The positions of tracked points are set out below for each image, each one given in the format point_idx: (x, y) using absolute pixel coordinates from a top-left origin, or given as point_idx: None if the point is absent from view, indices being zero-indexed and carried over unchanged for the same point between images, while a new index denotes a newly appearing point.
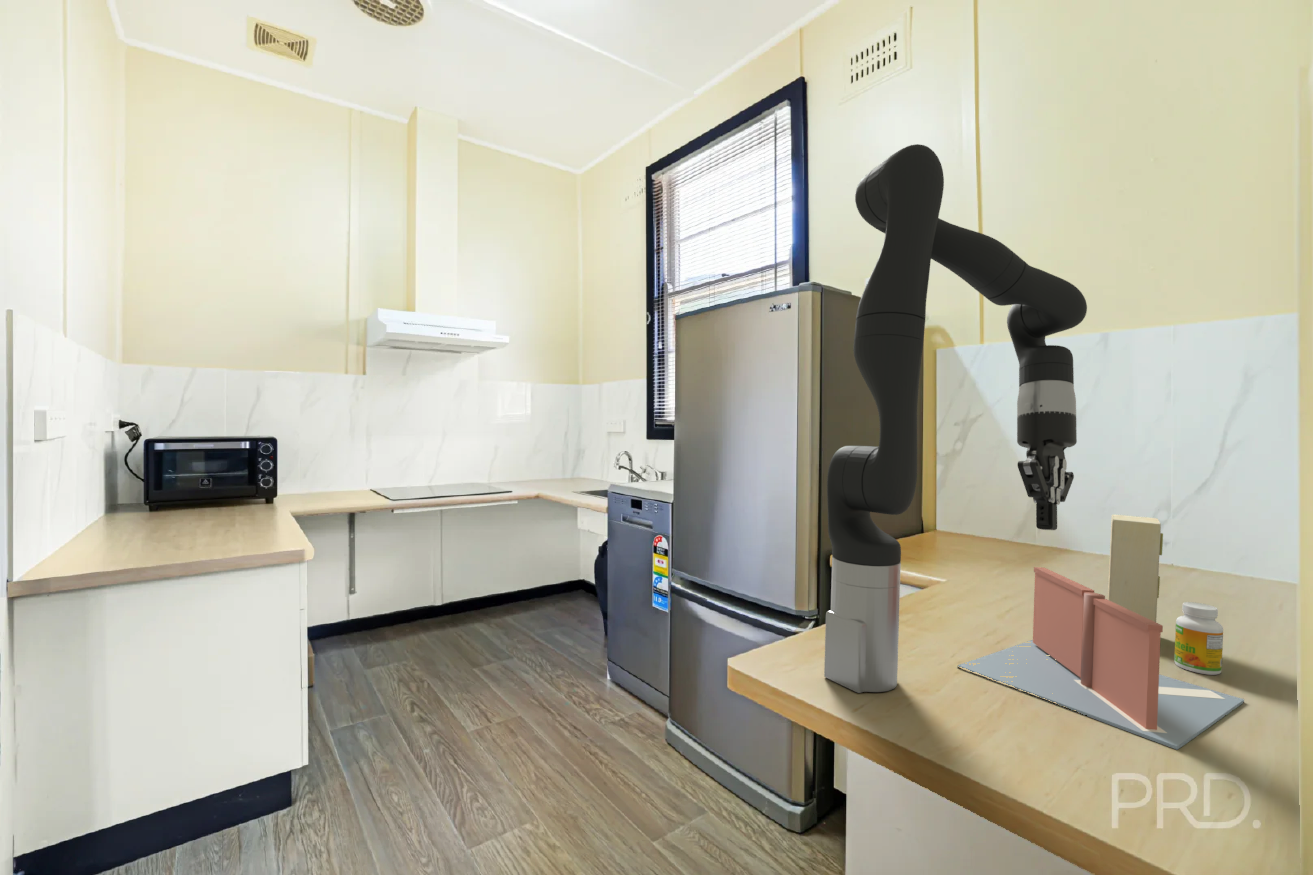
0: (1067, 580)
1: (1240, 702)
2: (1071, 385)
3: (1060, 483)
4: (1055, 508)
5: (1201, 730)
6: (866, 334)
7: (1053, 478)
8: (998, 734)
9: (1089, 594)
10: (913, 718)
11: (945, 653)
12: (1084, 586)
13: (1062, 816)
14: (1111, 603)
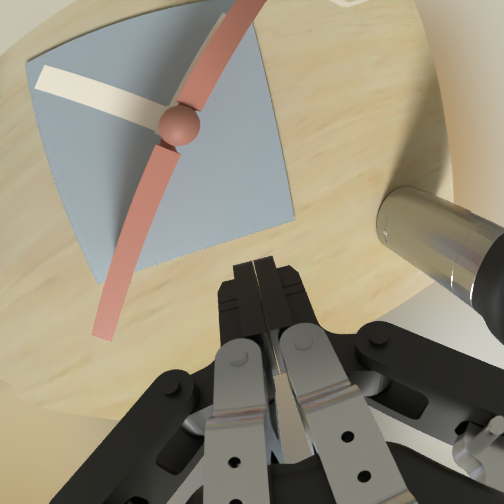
0: (133, 234)
1: (37, 57)
2: None
3: (263, 434)
4: (257, 318)
5: (171, 8)
6: None
7: (374, 425)
8: (379, 85)
9: (190, 128)
10: (416, 137)
11: None
12: (141, 180)
13: (416, 11)
14: (203, 71)
